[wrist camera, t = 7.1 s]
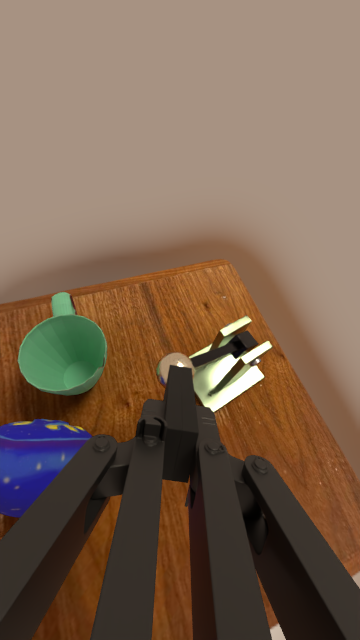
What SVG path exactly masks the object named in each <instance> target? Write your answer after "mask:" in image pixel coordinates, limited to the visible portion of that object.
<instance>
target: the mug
mask: <svg viewBox="0 0 360 640" xmlns="http://www.w3.org/2000/svg"><path fill="white" fill-rule="evenodd" d="M51 301H52V311H53V317H52V318H49V319H46V320H45V321H43V322H41V323H40V324H38V325H36V326H35V327H34V328H33V329H32V330H31V331H30V332H29V333H28V334H27V335H26V337H25V338H24V340H23V342H22V344H21V346H20V349H19V355H18V363H19V368H20V372H21V373H22V375H23V376H24V377H25V379H26V380H27V382H28V383H30V384H31V385H33V386H34V387H36V388H38V389H39V390H41V391H44V392H48V393H53V394H62V395H66V396H68V395H77V394H81V393H84V392H86V391H88V390H89V389H91V388H92V387H93V386H94V385H95V384H96V382H97V381H98V379H99V378H100V376H101V375H102V372H103V369H104V366H105V363H106V358H107V342H106V339H105V336H104V334H103V331H102V330H101V329H100V328H99V326H98V325H97V324H96V323H95V322H93V321H91V320H90V319H88V318H86V317H83V316H79V315H77V312H76V308H75V305H74V302H73V299H72V296H71V295H70V294H68V293H65V292H61V293H58V294H56V295H54V296H53V297H52V298H51Z"/></svg>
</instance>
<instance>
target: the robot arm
mask: <svg viewBox="0 0 360 640" xmlns="http://www.w3.org/2000/svg"><path fill="white" fill-rule="evenodd" d="M189 475H190V485H189V490H188V494H187V498H186V503H185V506H186V507H187V506H188V509H189V537H190V565H191V593H192V621H193V640H272V637H271V634H270V629H269V625H268V621H267V616H266V612H265V608H264V604H263V600H262V595H261V591H260V587H259V583H258V579H257V574H258V576H259V578H260V581H261V583H262V585H263V588H264V590H265V592H266V595H267V597H268V599H269V601H270V604H271V606H272V608H273V611H274V613H275V615H276V618H277V620H278V622H279V625H280V627H281V629H282V632H283V634H284V636H285V638H286V640H360V589H359V587H358V586H357V584H356V583H355V582H354V580H353V579H352V577H351V576H350V574H349V573H348V572H347V570H346V569H345V567H344V566H343V565H342V563H341V562H340V560H339V559H338V557H337V556H336V555H335V553H334V552H333V550H332V549H331V547H330V546H329V545H328V543H327V542H326V540H325V539H324V538H323V536H322V535H321V533H320V532H319V530H318V529H317V528H316V526H315V525H314V523H313V522H312V521H311V519H310V518H309V516H308V515H307V513H306V512H305V511H304V509H303V508H302V506H301V505H300V503H299V502H298V501H297V499H296V498H295V496H294V495H293V494H292V492H291V491H290V489H289V488H288V486H287V485H286V484H285V482H284V481H283V479H282V478H281V477H280V475H279V474H278V472H277V471H276V469H275V468H274V467H273V465H272V464H271V463H270V462H269V461H267V460H266V459H264V458H262V457H260V456H255V455H251V456H248V457H247V458H246V459H245V461H242V460H240V459H237V458H235V457H233V456H231V455H229V454H228V452H227V450H226V447H225V446H224V445H223V444H222V443H221V442H220V437H219V433H218V428H217V423H216V419H215V414H214V412H213V411H212V410H211V409H210V407H204V406H197V405H196V402H195V393H194V384H193V375H192V368H188V367H182V366H175V365H170V366H169V372H168V378H167V383H166V389H165V394H164V400H163V401H160V400H154V399H148V400H147V401H146V402H145V403H144V405H143V410H142V414H141V418H140V419H139V421H138V424H137V431H136V436H135V437H134V438H133V439H131V440H130V441H127V442H122V443H117V441H116V440H115V439H114V438H113V437H111V436H109V435H104V434H102V435H96V436H93V437H91V438H90V439H89V440H87V441H86V443H85V444H84V445H83V446H82V447H81V448H80V449H79V451H78V452H77V453H76V454H75V455H74V456H73V457H72V459H71V460H70V461H69V462H68V463H67V464H66V465H65V467H64V468H63V469H62V470H61V471H60V472H59V474H58V475H57V476H56V477H55V478H54V479H53V480H52V482H51V483H50V484H49V485H48V486H47V487H46V488H45V490H44V491H43V492H42V493H41V494H40V495H39V497H38V498H37V499H36V500H35V501H34V502H33V503H32V505H31V506H30V507H29V508H28V509H27V510H26V511H25V513H24V514H23V515H22V516H21V517H20V518H19V519H18V521H17V522H16V523H15V524H14V525H13V526H12V528H11V529H10V530H9V531H8V532H7V533H6V534H5V536H4V537H3V538H2V539H1V540H0V640H31V639H32V637H33V635H34V633H35V632H36V630H37V628H38V626H39V625H40V623H41V621H42V619H43V617H44V616H45V614H46V612H47V610H48V608H49V607H50V605H51V603H52V601H53V600H54V598H55V596H56V594H57V592H58V591H59V589H60V587H61V585H62V584H63V582H64V580H65V578H66V576H67V575H68V573H69V571H70V569H71V567H72V566H73V564H74V562H75V560H76V559H77V557H78V555H79V553H80V551H81V550H82V548H83V546H84V544H85V543H86V541H87V539H88V537H89V535H90V534H91V532H92V530H93V528H94V526H95V525H96V523H97V521H98V519H99V518H100V516H101V514H102V512H103V510H104V509H105V507H106V505H107V503H108V502H109V499H110V496H116V495H122V494H123V495H122V500H121V504H120V509H119V513H118V517H117V522H116V526H115V531H114V535H113V540H112V544H111V549H110V553H109V558H108V562H107V566H106V571H105V575H104V580H103V584H102V589H101V593H100V598H99V602H98V607H97V611H96V615H95V620H94V624H93V629H92V633H91V638H90V640H151V638H152V623H153V608H154V593H155V579H156V564H157V549H158V534H159V519H160V504H161V490H162V479H165V480H172V481H179V482H186V483H188V479H189ZM255 569H256V570H255ZM256 571H257V574H256Z"/></svg>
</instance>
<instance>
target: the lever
mask: <svg viewBox="0 0 360 640" xmlns="http://www.w3.org/2000/svg"><path fill="white" fill-rule="evenodd" d="M257 345H258V343H257V341H256V340H255V339H254V338H253V337H252V335H251V334H250V333H249V332H248V331H245V332H242V333H239V334H236V335H235V336H234V337H233V338H232V339H231V340H230V341H229V342H228V343H227V344H226V345H224V346H221V347H219V348H216V349H213V350H211V351H208V352H205V353H203V354H200V355H197V356H195V357H192V358H189V357H188V356H187V355H185V354H183V353H180V352H171V353H168V354H166V355H164V356H163V357H162V358H161V359H160V360H159V362H158V364H157V367H156V376H157V379H158V381H159V383H160V384H161V385H162V386H163V387H164V388H165V389H166V383H167V378H168V372H169V366H170V365H175V366H182V367H188V368H192V375H193V379H194V375H195V370H198V369H200V368H202V367H204V366H207V365H209V364H211V363H214V362H216V361H218V360H221V359H223V358H225V357H227V356H230V355H232V356H233V357H234V359H237V358H239V357H242V356H243V355H245V354H247V353H248V352H250V351H251V350H252V349H253V348H254V347H255V346H257Z"/></svg>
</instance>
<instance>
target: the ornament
mask: <svg viewBox="0 0 360 640" xmlns="http://www.w3.org/2000/svg"><path fill="white" fill-rule="evenodd" d="M91 437H92V436H91V435H90V434H89V433H88V432H87V431H86V430H84V429H83V428H81V427H78V426H71V425H69V423H68V422H64V421H60V420H47V419H35V420H33V421H32V422H28V421H21V422H13V423H9V424H5V425H3V426H0V513H1V514H4V515H7V516H12V517H21V516H22V515H23V514H24V513H25V511H26V510H27V509H28V508H29V507H30V506H31V505H32V503H33V502H34V501H35V500H36V499H37V498H38V497H39V495H40V494H41V493H42V492H43V491H44V490H45V488H46V487H47V486H48V485H49V484H50V483H51V482H52V480H53V479H54V478H55V477H56V476H57V475H58V474H59V472H60V471H61V470H62V469H63V468H64V467H65V465H66V464H67V463H68V462H69V461H70V460H71V459H72V457H73V456H74V455H75V454H76V453H77V452H78V451H79V449H80V448H81V447H82V446H83V445H84V444H85V443H86V441H87V440H89V439H90V438H91Z"/></svg>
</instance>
